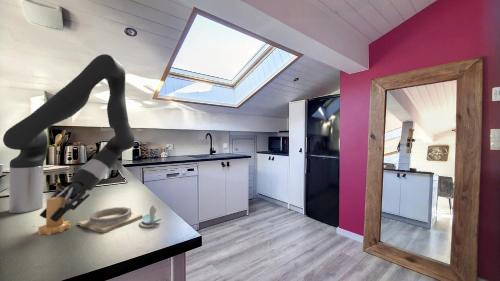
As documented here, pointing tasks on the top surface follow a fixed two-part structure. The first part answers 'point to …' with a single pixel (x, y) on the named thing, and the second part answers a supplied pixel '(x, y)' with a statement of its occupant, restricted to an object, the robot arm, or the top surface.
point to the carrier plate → (109, 227)
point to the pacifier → (150, 218)
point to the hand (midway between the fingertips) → (47, 218)
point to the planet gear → (51, 225)
